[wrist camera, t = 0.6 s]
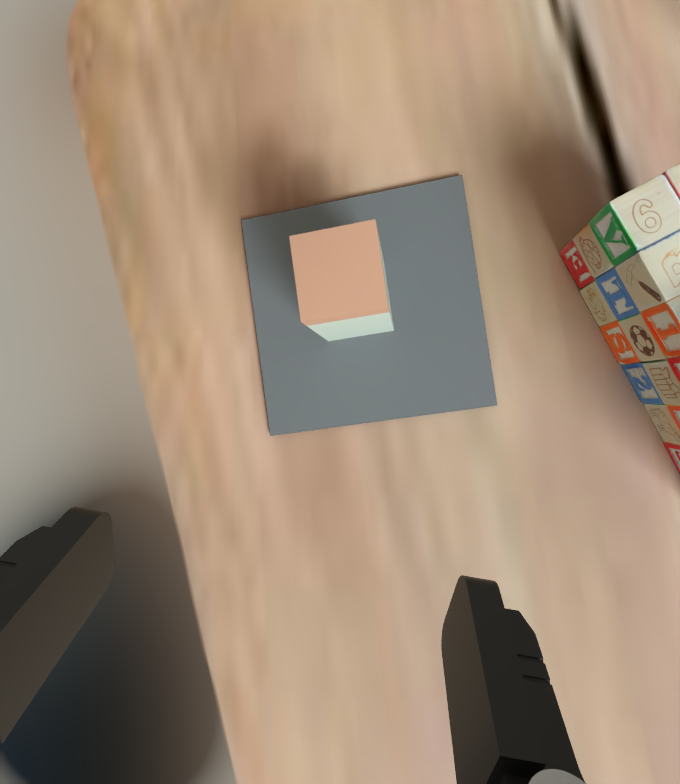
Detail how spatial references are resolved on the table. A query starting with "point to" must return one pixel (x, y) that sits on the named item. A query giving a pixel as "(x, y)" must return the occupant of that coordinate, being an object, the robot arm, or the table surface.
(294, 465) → the table surface
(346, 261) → the sage block
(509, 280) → the table surface
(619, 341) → the stack of blocks
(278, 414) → the charcoal mat
